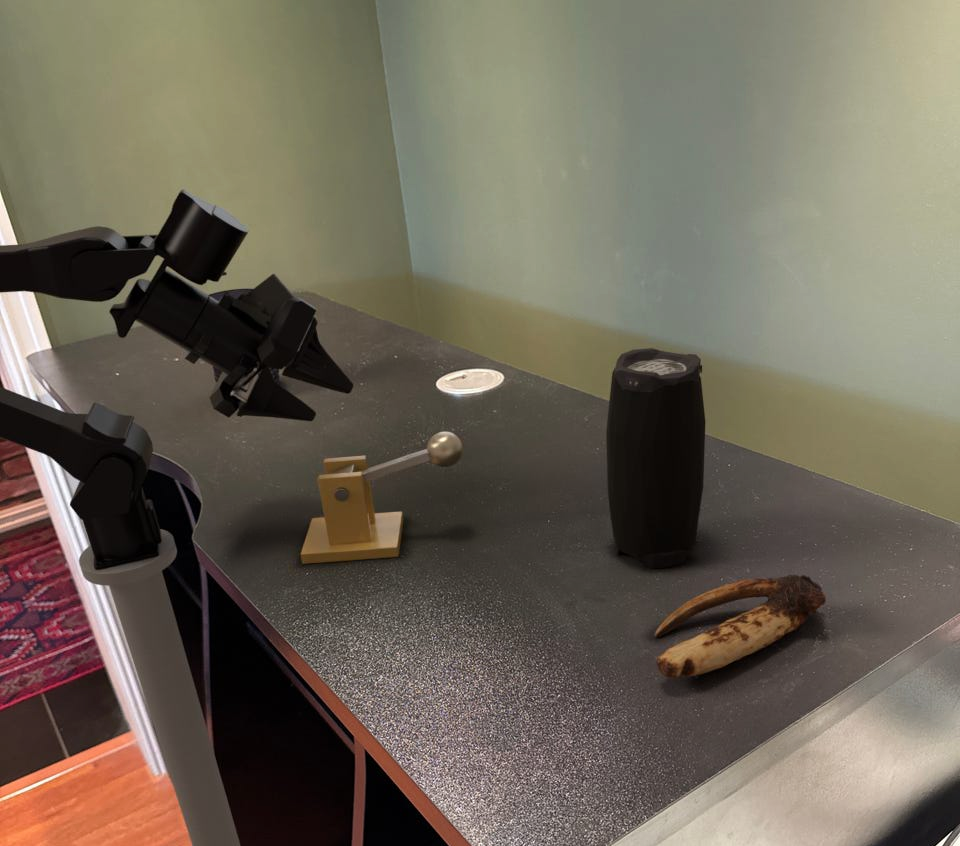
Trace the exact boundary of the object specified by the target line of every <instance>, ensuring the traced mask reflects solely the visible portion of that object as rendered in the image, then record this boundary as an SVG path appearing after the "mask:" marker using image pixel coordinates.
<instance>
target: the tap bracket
mask: <svg viewBox="0 0 960 846" xmlns="http://www.w3.org/2000/svg"><path fill="white" fill-rule="evenodd" d="M322 464H323V470H324V474H318V477H317V484H318V490H319V495H320V500H321V506H322V511H323V516H322V517H321V516H320V517H312V518H311V520H310V523H309V527H308V529H307V533H306V536H305V539H304V542H303V545H302V548H301V552H300V560H301V563H302V564H303V565H307V564H320V563H321V564H322V563H334V562H335V563H336V562H345V561H347V562H348V561H360V560H374V559H389V558H398V557H399V556H400V549H401V542H402V536H403V535H402V534H403V529H404V528H403V527H404V521H405V520H404V514H403V511H401V510H400V511H389V512H388V511H387V512H376V513H375V506H374V499H373V493H372V486H371V481H368V482H365V483H364V481H363V475H362V472H359V471H362V470H365V469H368V468H369V467H368V466H369V465H368V461H367V455H356V456H355V455H354V456H341V457H327V458H324V459H323V461H322ZM353 464H354V466H355V468H356V470H357V472H351V473H338V474H329V473H330V472H332V471H335V470H338V469H341V468H344V467H347V466H350V465H353Z"/></svg>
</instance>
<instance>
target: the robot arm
mask: <svg viewBox="0 0 960 846" xmlns="http://www.w3.org/2000/svg"><path fill="white" fill-rule="evenodd" d="M248 233H249V229H248V228H247V227H246V226H245V225H244V223H242V222H241V221H240V220H239V219H237V218H236V217H235V216H233V215H232V214H230V212H228V211H227V210H225V209H224V208H222V207H221V206H219V205H217V204H215V205H214V204H212V203H210V202H208V201H207V200H204V199H203V198H200V197H198V196H195V195H193V194H191V193H190V192H189V191H187V190H186V189H181V190H180V191H179V192H178V194H177V196H176V198H175V199H174V201H173V203H172V207H171V210H170V214H169V215H168V217H167V218H166V220H165V222H164V223H163V224H162V227H161V229H160V230H159V232H158V233H157V234H140V235H137V234H136V235H121V234H120V233H119V232H117V231H116V230H115V229H113V228H110V227H108V226H97V225H96V226H91V227H86V228H82V229H78V230H73V231H67V232H65V233H60V234H57V235H54V236H50V237H47V238H43V239H40V240H36V241H32V242H28V243H22V244H3V245H0V293H1V294H3V293H20V292H26V293H37V294H42V295H45V296H49V297H54V298H58V299H63V300H74V301H82V302H83V301H84V302H92V303H103V302H106V301H110V300H112V299H114V298H116V297H117V296H118V295H120V293H121V292H122V291H123V289H124V288H125V287H126V286H127V284H128V282H129V280H132V279H133V278H137V277H139V276H141V275H145V274H146V273H147V272H148V270H149V268H150V266H151V265H152V263H153V262H154V260H155V258H156V257H157V256H158V257H160V258H162V261H161V263H160V265H159V267H158V268H157V270H156V271H155V273H154V275H153V276H152V279H151V280H149V279H145V278H138V279H137V280H136V281H135V282H134V284H133V286H132V288H131V290H130V291H129V293H128V295H127V297H126V298H125V299H124V302H121V303H114V304H112V305H111V307H110V309H109V314H110V316H111V317H112V318H113V321H114V324H115V328H116V333H117V336H118V337H119V338H121V339H125V338H126V337H127V335H128V333H129V332H130V330H131V329H132V327H133V325H134V323H135V322H137V323H138V324H141V325H142V326H144V327H145V328H147V329H149V330H151V331H152V332H154V333H155V334H158V335H159V336H161V337H163V338H164V339H165V340H168V342H169V341H170V342H171V343H173V344H174V345H176V346H178V347H180V348H181V349H183V350H185V351H186V352H187V354H186V356H185V357H184V360H186V361H188V362H189V363H191V364H192V365H195V364H196V363H197V362H198V360H199V359H200V360H202V361H204V362H205V363H207V364H209V365H210V366H212V367H213V366H214V367H215V368H217V369H219V370H221V371H222V373H221V375H220V377H219V379H218V381H217V383H216V382H215V383H216V384H215V386H214V388H213V389H212V392H211V393H210V395H209V401H210V403H211V406H212V409H213V410H215V411H216V412H218V413H219V414H221V415H223V416H225V417H227V418H230V417H232V416H233V415H234V414H235V413H236V417H238V418H239V417H240V418H242V417H243V416H245V417H246V416H247V417H261V418H275V419H286V420H294V421H304V422H313V421H314V420H315V418H316V415H317V412H316V411H315V410H314V409H313V408H312V407H311V406H309V405H308V404H307V403H305V402H304V401H303V400H302V399H300V398H299V397H298V396H296V395H295V394H294V393H292V392H290V391H289V390H288V389H286V388H285V387H283V386H282V384H281V385H279V384H278V383H277V382H276V381H275V380H274V378H273V376H272V373H271V371H270V369H269V367H271V368H275V369H279V370H282V373H281V376H283V377H287V378H289V379H292V380H296V381H300V382H304V383H307V384H310V385H314V386H317V387H319V388H324V389H327V390H330V391H333V392H338V393H343V394H347V395H349V394H350V393H352V391H353V388H354V383H353V382H352V381H351V379H350V378H349V377H348V376H347V375H346V373H345V372H344V371H343V370H342V368H341V367H340V366H339V365H338V363H336V361H334V359H333V358H332V357H331V356H330V355H329V353H328V352H327V351H326V349H325V348H324V346H323V345H322V344H321V342H320V339H319V334H318V330H317V326H318V323H319V321H318V319H317V317H316V316H315V314H316V312H317V307H315V306H314V305H312V304H311V303H309V302H307V301H306V300H305V299H303V298H301V297H300V296H299V297H296V296H295V295H294V294H293V293H292V291H290V289H289V288H288V287H287V286H286V285H285V284H284V283H283V281H282V280H281V279H280V278H279V276H277V274H275V273H272V274H271V275H270V276H268V277H267V278H265V279H264V280H263V281H262V282H260V283H259V284H258V285H256V286H255V287H254V288H252V289H253V290H252V291H250V292H249V293H248V294H246V293H241V294H240V295H239V296H238V297H237V298H236V299H235V298H233V297H232V296H230V295H227V296H225V295H223V296H222V297H221V299H220V300H219V301H217V300H216V299H214V298H212V297H211V296H209V294H208V293H206V292H204V290H203V291H202V290H201V289H199V288H198V287H196V286H194V285H193V284H196V285H198V286H203V285H206V283H207V282H208V281H210V282H215V283H217V282H219V281H220V280H221V278H222V277H223V276H222V275H223V273H224V272H226V269H227V268H228V266H229V265H230V263H231V262H232V260H233V258H234V257H235V255H236V253H237V251H238V250H239V248H240V247H241V245H242V243H243V242H244V240H245V239H246V237H247V235H248ZM167 268H169V269H171V270H172V271H174V272H175V273H177V274H178V275H179V276H178V275H177V274H175V273H174V272H172V271H171V270H169V269H167ZM180 276H181V277H182V278H181V277H180ZM183 278H184V279H183ZM185 279H186V280H187V281H186V280H185ZM188 281H189V282H188ZM190 282H191V283H193V284H191V283H190ZM134 420H135V416H134V415H126V414H121V413H118V412H115V411H114V410H112V409H110V408H108V407H107V406H105V405H103V404H100V403H97V402H93V403H92V405H91V407H90V409H89V411H88V413H74V412H73V413H72V412H67V411H63V410H60V409H58V408H56V407H53V406H51V405H48V404H46V403H42V402H40V401H38V400H35V399H34V398H33V399H32V398H30V397H29V396H28V397H27V396H25V395H22V394H20V393H17V392H15V391H13V390H10V389H7V388H5V387H2V386H0V439H2V440H5V441H8V442H10V443H13V444H15V445H18V446H20V447H24V448H27V449H28V450H32V451H34V452H37V453H40V454H43V455H45V456H47V457H49V458H50V459H52V460H53V461H54V462H55V463H56V464H58V466H60V467H61V468H62V469H63V470H64V471H66V473H67V474H69V475H70V476H71V477H72V478H73V479H75V480H77V481H78V484H77V486H76V488H75V490H74V493H73V495H72V497H71V500H70V502H69V506H70V508H71V509H72V510H73V511H74V513H75V514H76V515H77V516H78V518H79V519H80V520H81V521H82V523H83V527H84V530H85V532H86V536H87V539H88V542H89V546H90V545H91V548H92V551H93V554H94V564H93V565H94V568H95V570H100V569H105V568H109V567H114V566H118V565H122V564H127V563H131V562H135V561H140V560H144V559H149V558H153V557H157V556H158V555H159V545H158V544H160V543H161V542H162V538H161V530H160V529H161V526H160V524H159V520H158V517H157V513H156V510H155V506H154V503H153V500H152V499H147V498H146V494H145V492H144V489H143V484H144V482H145V481H146V478H147V474H148V472H149V467H150V464H151V460H152V457H153V452H154V447H153V442H152V441H153V440H151V438H150V435H149V434H148V431H147V430H146V429H145V428H144V427H142V426H141V425H139V424H137V423H136V422H134Z"/></svg>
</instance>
